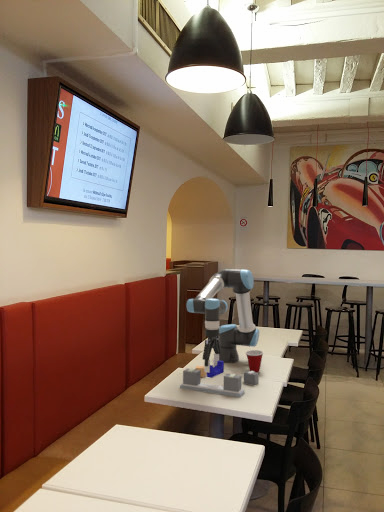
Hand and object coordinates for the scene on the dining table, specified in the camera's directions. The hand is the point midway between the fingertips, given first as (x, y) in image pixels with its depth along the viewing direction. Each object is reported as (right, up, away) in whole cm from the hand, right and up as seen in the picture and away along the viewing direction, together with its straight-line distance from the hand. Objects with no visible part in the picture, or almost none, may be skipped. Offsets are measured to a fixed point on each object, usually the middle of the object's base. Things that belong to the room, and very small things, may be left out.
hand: (211, 369), depth 239 cm
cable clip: (+1, -3, -1) cm, 3 cm away
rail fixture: (0, -12, 0) cm, 12 cm away
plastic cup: (+27, -11, +37) cm, 47 cm away
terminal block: (-5, -11, +28) cm, 31 cm away
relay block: (+22, -11, +14) cm, 29 cm away
